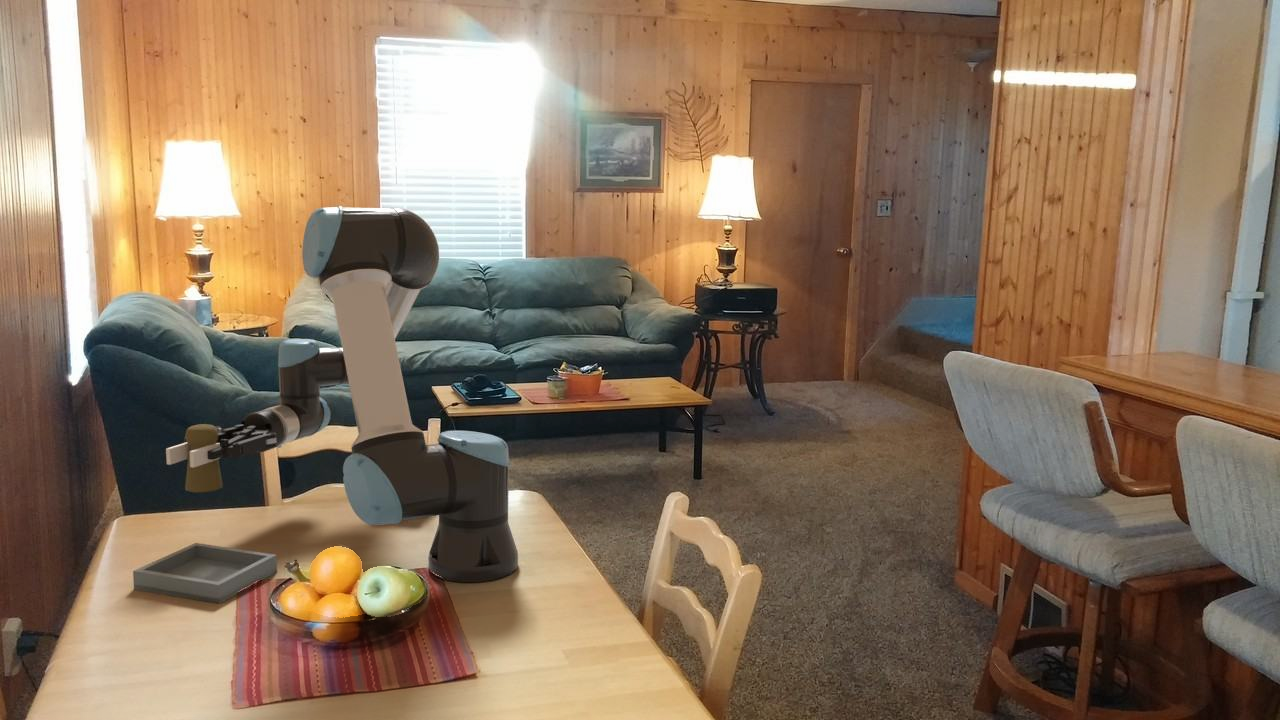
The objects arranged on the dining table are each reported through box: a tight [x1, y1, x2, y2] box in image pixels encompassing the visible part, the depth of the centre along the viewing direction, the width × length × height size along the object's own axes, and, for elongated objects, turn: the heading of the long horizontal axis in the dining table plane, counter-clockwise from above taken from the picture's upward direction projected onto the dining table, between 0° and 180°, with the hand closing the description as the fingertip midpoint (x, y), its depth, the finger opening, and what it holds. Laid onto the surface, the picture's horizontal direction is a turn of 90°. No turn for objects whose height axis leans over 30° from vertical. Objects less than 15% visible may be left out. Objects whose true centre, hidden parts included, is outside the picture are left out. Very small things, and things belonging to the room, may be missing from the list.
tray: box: [132, 542, 278, 604], centre depth 163 cm, size 16×14×3 cm
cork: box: [184, 423, 224, 493], centre depth 175 cm, size 6×6×11 cm
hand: (180, 458), depth 169 cm, fingers closed on cork, 4 cm apart
